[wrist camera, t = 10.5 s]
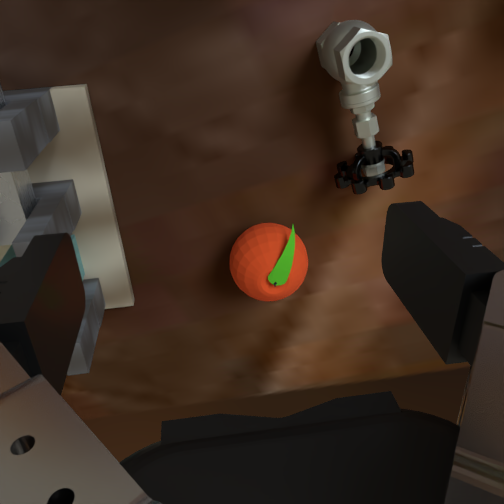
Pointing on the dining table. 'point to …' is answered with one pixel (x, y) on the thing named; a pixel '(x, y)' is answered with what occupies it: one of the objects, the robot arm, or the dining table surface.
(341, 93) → the valve
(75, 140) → the frame
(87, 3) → the dining table surface
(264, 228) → the clementine
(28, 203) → the shaft
